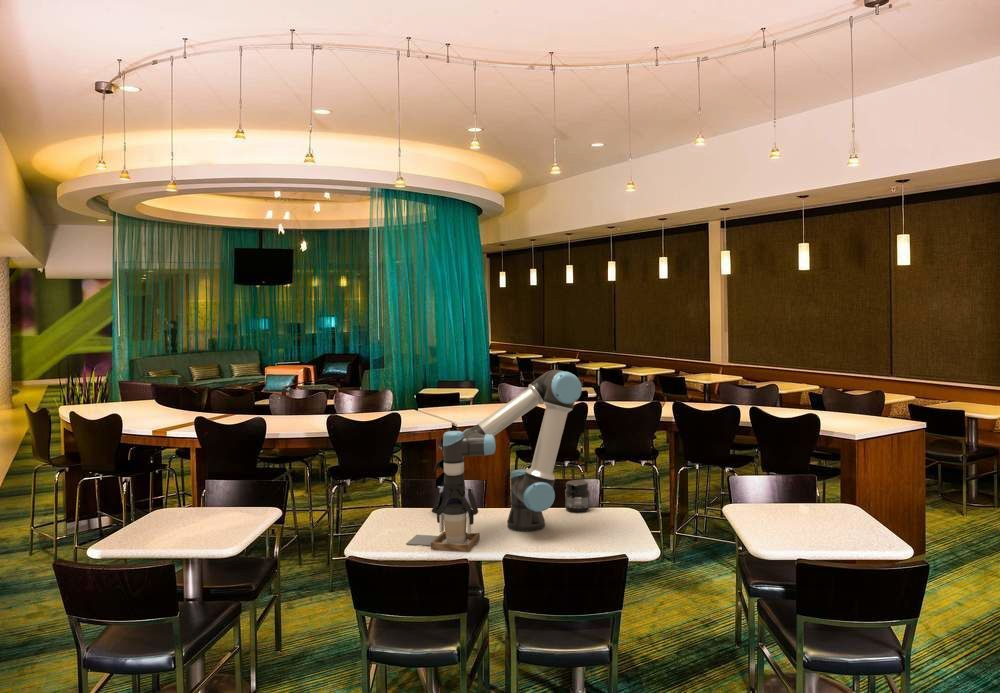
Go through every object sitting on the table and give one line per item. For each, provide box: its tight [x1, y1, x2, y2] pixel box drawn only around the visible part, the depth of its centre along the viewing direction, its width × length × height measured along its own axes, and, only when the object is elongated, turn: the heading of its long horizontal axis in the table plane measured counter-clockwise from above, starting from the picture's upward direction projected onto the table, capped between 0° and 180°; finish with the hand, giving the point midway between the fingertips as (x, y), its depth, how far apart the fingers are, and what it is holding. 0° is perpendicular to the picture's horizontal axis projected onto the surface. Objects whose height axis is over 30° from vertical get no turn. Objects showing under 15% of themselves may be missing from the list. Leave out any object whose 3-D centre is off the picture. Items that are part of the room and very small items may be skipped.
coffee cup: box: [443, 504, 468, 544], centre depth 270 cm, size 9×9×15 cm
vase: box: [433, 437, 466, 513], centre depth 312 cm, size 14×12×35 cm
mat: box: [405, 534, 439, 547], centre depth 276 cm, size 11×11×1 cm
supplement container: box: [564, 479, 590, 514], centre depth 314 cm, size 10×10×12 cm
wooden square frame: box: [430, 530, 481, 553], centre depth 271 cm, size 14×14×2 cm
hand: (455, 532), depth 271 cm, fingers open, 10 cm apart
